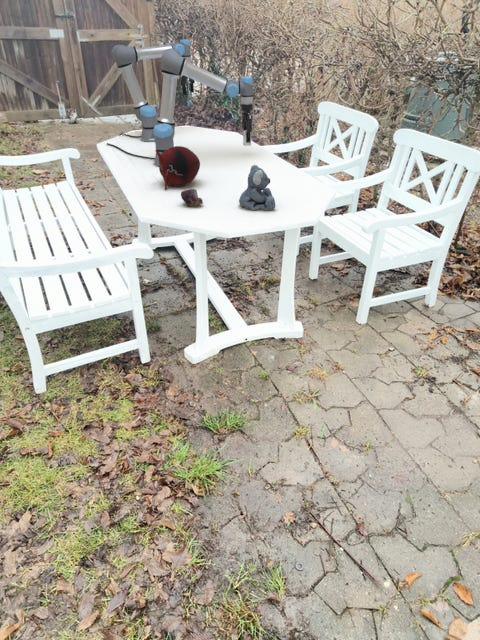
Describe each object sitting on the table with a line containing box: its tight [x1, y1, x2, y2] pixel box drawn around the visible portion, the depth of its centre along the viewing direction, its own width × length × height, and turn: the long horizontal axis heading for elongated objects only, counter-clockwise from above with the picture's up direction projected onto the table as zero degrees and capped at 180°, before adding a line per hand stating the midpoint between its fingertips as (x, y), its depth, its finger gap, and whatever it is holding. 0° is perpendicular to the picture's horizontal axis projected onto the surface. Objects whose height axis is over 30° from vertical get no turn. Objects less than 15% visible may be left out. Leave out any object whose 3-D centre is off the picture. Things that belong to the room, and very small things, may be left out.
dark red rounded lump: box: [155, 145, 201, 191], centre depth 255 cm, size 21×24×25 cm
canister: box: [242, 130, 252, 147], centre depth 302 cm, size 5×5×9 cm
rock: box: [180, 188, 204, 207], centre depth 229 cm, size 12×9×10 cm
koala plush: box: [238, 164, 276, 211], centre depth 224 cm, size 17×18×20 cm
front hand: (246, 141), depth 303 cm, fingers closed on canister, 5 cm apart
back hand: (188, 93), depth 357 cm, fingers open, 13 cm apart
